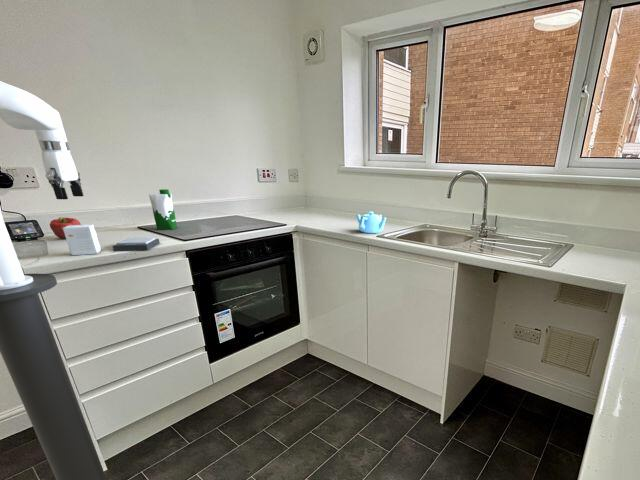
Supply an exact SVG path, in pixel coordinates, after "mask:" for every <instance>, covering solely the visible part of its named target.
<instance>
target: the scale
mask: <svg viewBox="0 0 640 480" xmlns="http://www.w3.org/2000/svg"><path fill="white" fill-rule="evenodd" d="M160 243H161V242H160V239H159V238H157V237H156V236H155V237H153V236H152V237H151V236H150V237H127V238H124V239H122V240H120V241H117V242H116V243H115V244H113V245H112V249H113V252H126V251H128V252H134V251H136V252H137V251H139V252H141V251H150V250H151V249H153V248H155V247H156V246H158V245H160Z"/></svg>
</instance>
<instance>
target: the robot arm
mask: <svg viewBox="0 0 640 480" xmlns="http://www.w3.org/2000/svg"><path fill="white" fill-rule="evenodd" d="M0 119H1V120H2V121H3V122H4V123H5V124H6V125H7V126H10V127H11V128H14V129H18V130H24V131H34V132H35V135H36V138H37V141H38V144H39V147H40V151H41V159H42V164H43V168H44V169H43V170H44V172H45V177H46V179H47V180H48V183H49V184H50V187H51V188H52V189H53V192H54V196H55V199H56V200H69V196H68V193H67V191H66V187H64V182H68V183H69V184H70V185H69V188H70V190H71V194H72V196H73V197H84V196H85V195H84V191H83V189H82V183H81V174H80V172H79V171H78V170H77V166H76V164H75V162H74V159H73V157H72V154H71V152H72V151H71V148H70V145H69V142H68V138H67V135H66V131H65V128H64V126H63V120H62V118H61V115H60V113H59V111H58V110H56V109H55V108H53V107H52V106H51V105H50V104H48V103H47V102H46V101H44V100H42V99H41V98H39V97H38V96H37V95H34V94H33V93H30V92H29V91H27V90H24V89H21V88H20V87H17V86H14V85H13V84H12V85H11V84H9V83H6V82H4V81H2V80H0ZM24 274H25V273H24V271H23V267H22V266H21V263H20V260H19V258H18V255H17V252H16V249H15V247H14V244H13V242H12V239H11V236H10V234H9V231H8V229H7V226H6V223H5V220H4V216H3V214H2V209H1V206H0V290H7V289H12V288H17V287H21V286H24V285H27V284H30V283H31V282H33V278H32V277H31V276H26V275H24Z"/></svg>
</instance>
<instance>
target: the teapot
mask: <svg viewBox="0 0 640 480" xmlns="http://www.w3.org/2000/svg"><path fill="white" fill-rule="evenodd" d="M355 216H356V219H357V222H358V223H357V224H358V229H359V231H360V232H361V233H364V234H379V233H381V232H382V231H384V227H385V224H386V221H387V217H382V216H383V215H382V214H374V211H368V213H367V214H364V215H363V216H361V215H360V214H355Z"/></svg>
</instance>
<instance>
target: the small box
mask: <svg viewBox="0 0 640 480" xmlns="http://www.w3.org/2000/svg"><path fill="white" fill-rule="evenodd" d="M63 231H64V234H65V237H66V238H65V240H66V242H67V245H68V248H69V252H70V255H71V256H82V255H83V256H85V255H96V254H99V253H100V252H101V251H102V247H101V244H100V242H99V238H98V235H97V231H96V229H95V225H94V224H81V225H70V226H66V227H64V228H63Z"/></svg>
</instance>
